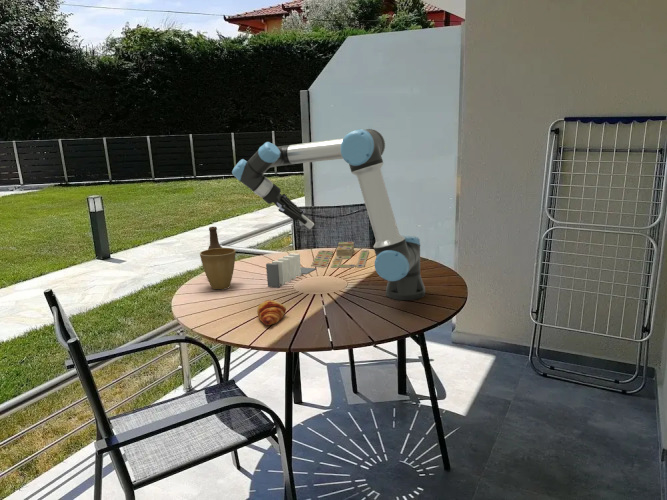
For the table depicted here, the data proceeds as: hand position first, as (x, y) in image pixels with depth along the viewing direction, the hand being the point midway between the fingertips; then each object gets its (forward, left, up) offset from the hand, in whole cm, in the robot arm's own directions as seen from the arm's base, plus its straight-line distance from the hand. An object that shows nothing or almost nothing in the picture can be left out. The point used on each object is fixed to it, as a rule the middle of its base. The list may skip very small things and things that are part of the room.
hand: (311, 226), depth 212 cm
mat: (+24, +7, -25) cm, 36 cm away
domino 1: (+1, +18, -25) cm, 31 cm away
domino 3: (+9, +14, -25) cm, 31 cm away
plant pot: (+3, +41, -26) cm, 48 cm away
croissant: (-36, +13, -26) cm, 46 cm away
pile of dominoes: (+45, -10, -26) cm, 53 cm away
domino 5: (+17, +10, -25) cm, 32 cm away
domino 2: (+5, +16, -25) cm, 31 cm away
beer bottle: (+17, +46, -26) cm, 55 cm away
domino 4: (+13, +12, -25) cm, 31 cm away
